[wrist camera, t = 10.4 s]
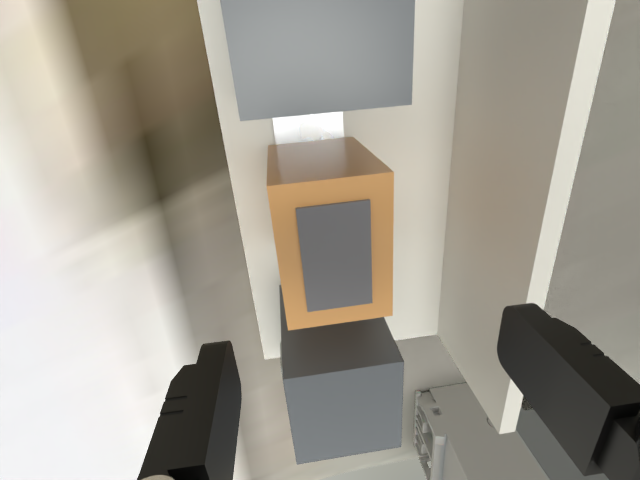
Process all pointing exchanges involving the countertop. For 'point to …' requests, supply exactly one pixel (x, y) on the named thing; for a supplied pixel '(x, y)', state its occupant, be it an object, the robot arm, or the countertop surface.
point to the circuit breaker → (484, 442)
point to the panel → (451, 171)
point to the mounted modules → (315, 98)
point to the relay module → (332, 231)
